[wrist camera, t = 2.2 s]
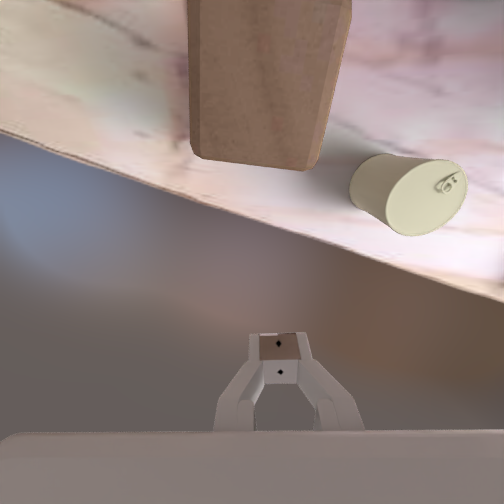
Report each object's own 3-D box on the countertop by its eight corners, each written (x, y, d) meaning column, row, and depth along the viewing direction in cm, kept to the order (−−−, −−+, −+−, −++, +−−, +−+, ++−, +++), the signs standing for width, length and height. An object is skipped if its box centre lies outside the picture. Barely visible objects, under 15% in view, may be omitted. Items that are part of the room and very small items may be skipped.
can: (418, 181, 35) (487, 198, 24) (370, 221, 38) (413, 251, 28) (385, 140, 33) (447, 139, 22) (337, 187, 36) (370, 206, 25)
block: (224, 149, 34) (186, 158, 16) (228, 69, 29) (181, -46, 11) (286, 157, 34) (318, 174, 16) (300, 78, 29) (364, -18, 12)
